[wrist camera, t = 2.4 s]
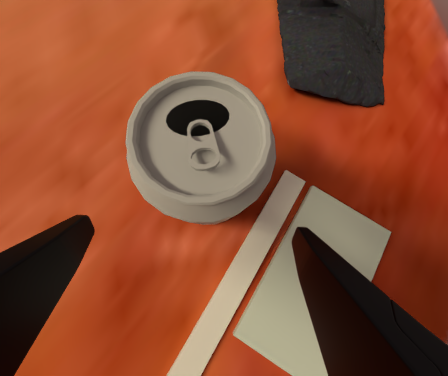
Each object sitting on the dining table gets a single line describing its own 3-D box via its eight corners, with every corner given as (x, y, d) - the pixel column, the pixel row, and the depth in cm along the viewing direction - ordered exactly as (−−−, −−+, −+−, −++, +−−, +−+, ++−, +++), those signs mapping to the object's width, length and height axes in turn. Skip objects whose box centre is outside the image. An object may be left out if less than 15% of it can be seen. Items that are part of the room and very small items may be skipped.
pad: (321, 392, 16) (324, 397, 16) (232, 332, 17) (233, 335, 16) (386, 232, 19) (391, 232, 19) (310, 186, 20) (312, 185, 19)
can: (238, 150, 20) (268, 46, 9) (251, 218, 19) (309, 204, 7) (169, 159, 20) (102, 63, 8) (177, 230, 18) (110, 237, 7)
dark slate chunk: (261, 98, 22) (273, 64, 18) (275, -33, 27) (287, -87, 22) (385, 116, 23) (429, 88, 18) (377, -17, 27) (411, -66, 23)
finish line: (187, 396, 16) (187, 400, 15) (164, 379, 16) (163, 382, 15) (303, 182, 20) (305, 181, 20) (284, 170, 20) (286, 169, 20)
